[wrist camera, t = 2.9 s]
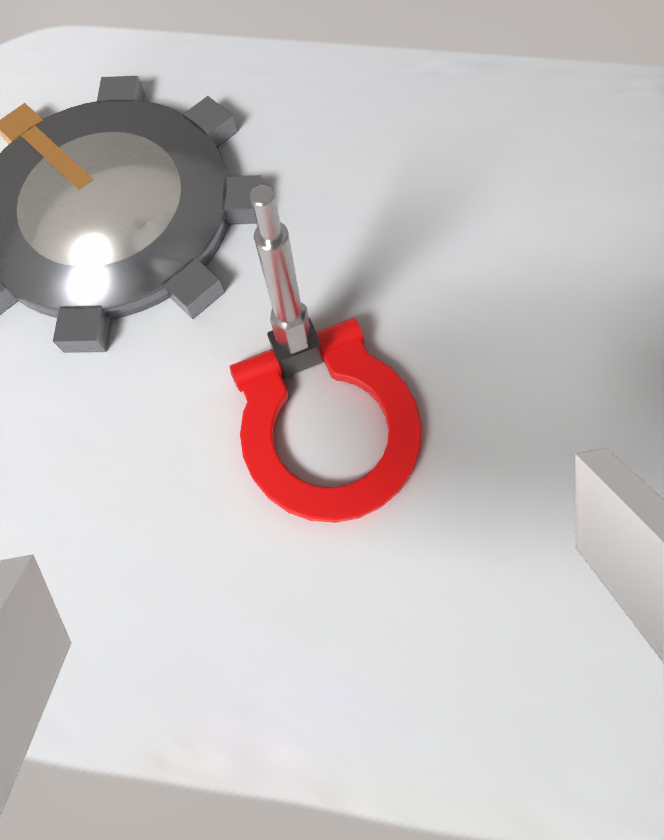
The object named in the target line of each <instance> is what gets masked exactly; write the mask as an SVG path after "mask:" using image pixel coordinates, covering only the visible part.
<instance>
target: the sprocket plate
mask: <svg viewBox="0 0 664 840" xmlns="http://www.w3.org/2000/svg"><path fill="white" fill-rule="evenodd" d="M143 99H144V90H143V88H142V85H141V83H140V80H139V78H138V76H119V77H101V82H100V87H99V93H98V98H97V101H96V102H91V103H86V104H82V105H78V106H75V107H71V108H68V109H66V110H63V111H61V112H58V113H56V114H53V115H51V116H49V117H47V118H45V119H42V118H41V117H40V116H39V115H37V114H36V113H35V112H34V111H33V110H32V109H31V108H30V107H29V106H27V105H26V104H25V103H24V104H22V105H21V106H20V107H18V108H17V109H15V110H14V111H12V112H11V113H9V114H8V115H7V116H5V117H4V118H2V119H1V120H0V134H1V135H2V137H3V138H4V140H5V141H6V142H7V143H8V144H9V145H8V146H7V147H6V148H5V149H4V150H3V151H2V152H1V153H0V314H1V313H3V312H4V311H5V310H6V309H8V308H9V307H10V306H12V305H13V304H14V303H16V302H17V301H20V302H21V303H23V304H24V305H26V306H27V307H29V308H31V309H33V310H36V311H38V312H40V313H42V314H46V315H49V316H52V317H56V318H57V322H56V327H55V333H54V338H53V342H54V343H55V344H56V345H57V346H58V347H59V348H60V349H61V350H62V351H63V352H106V347H107V341H108V334H109V327H110V321H111V319H114V318H119V317H124V316H127V315H131V314H134V313H137V312H140V311H143V310H145V309H148V308H150V307H152V306H154V305H157V304H159V303H160V302H162V301H164V300H166V299H167V298H169V297H170V298H171V299H172V300H173V301H174V302H175V303H176V304H177V305H178V306H180V307H181V308H182V309H183V310H184V311H185V312H186V313H187V314H188V315H189V316H190V317H191V318H192V319H193V318H195V317H196V316H197V315H198V314H199V313H201V312H202V311H203V310H204V309H205V308H207V307H208V306H209V305H210V304H211V303H212V302H214V301H215V300H216V299H217V298H218V297H220V296H221V295H222V294H223V293H224V290H223V287H222V285H221V282H220V280H219V279H218V278H217V277H216V276H215V275H214V274H213V273H212V272H211V271H209V270H208V269H207V268H206V267H205V266H206V265H207V264H208V263H209V262H210V260H211V259H212V257H213V256H214V254H215V253H216V251H217V250H218V248H219V246H220V244H221V242H222V239H223V237H224V235H225V232H226V229H227V226H228V224H252V223H256V219H255V215H254V211H253V207H252V203H251V199H250V193H251V191H252V190H253V189H254V188H255V187H257V186H260V185H263V183H262V179H261V175H260V176H229V177H227V173H226V170H225V167H224V164H223V161H222V158H221V155H220V153H219V151H218V149H217V147H218V146H219V145H221V144H222V143H223V142H225V141H226V140H227V139H228V138H230V137H231V136H232V135H234V134H235V133H236V132H237V130H236V126H235V122H234V118H233V115H232V114H230V113H229V112H228V111H227V110H225V109H224V108H223V107H221V106H220V105H219V104H218V103H216V102H215V101H214V100H213V99H211V98H210V97H209V96H207V97H206V98H204V99H203V100H202V101H200V102H199V103H198V104H196V105H195V106H194V107H192V108H191V109H190V110H188V111H187V112H186V113H184V114H181V113H179V112H177V111H175V110H173V109H171V108H168V107H165V106H162V105H159V104H155V103H151V102H146V101H143Z"/></svg>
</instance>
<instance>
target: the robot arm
mask: <svg viewBox="0 0 664 840" xmlns="http://www.w3.org/2000/svg"><path fill="white" fill-rule="evenodd" d="M575 465H576V549H577V550H578V552H579V553H580V554H581V555H582V557H583V558H584V559H585V561H586V562H587V563H588V565H589V566H590V567H591V569H592V570H593V571H594V573H595V574H596V575H597V576H598V578H599V579H600V580H601V582H602V583H603V584H604V586H605V587H606V588H607V590H608V591H609V592H610V594H611V595H612V596H613V598H614V599H615V600H616V601H617V603H618V604H619V605H620V607H621V608H622V609H623V611H624V612H625V613H626V615H627V616H628V617H629V619H630V620H631V621H632V622H633V624H634V625H635V626H636V628H637V629H638V630H639V632H640V633H641V634H642V636H643V637H644V638H645V640H646V641H647V642H648V643H649V645H650V646H651V647H652V649H653V650H654V651H655V653H656V654H657V655H658V657H659V658H660V659H661V661H662V662H663V663H664V499H663V498H662V497H661V496H660V495H659V494H658V493H656V492H655V491H654V490H653V489H652V488H651V487H650V486H649V485H648V484H646V483H645V482H644V481H643V480H642V479H641V478H640V477H639V476H637V475H636V474H635V473H634V472H633V471H632V470H631V469H630V468H628V467H627V466H626V465H625V464H624V463H623V462H622V461H621V460H620V459H618V458H617V457H616V456H615V455H614V454H613V453H612V452H611V451H609V450H608V449H607V448H604V449H599V450H593V451H588V452H582V453H577V454H575ZM70 645H71V641H70V638H69V636H68V634H67V631H66V629H65V627H64V625H63V622H62V620H61V618H60V615H59V613H58V611H57V608H56V606H55V604H54V601H53V599H52V597H51V594H50V592H49V590H48V587H47V585H46V583H45V581H44V578H43V576H42V574H41V571H40V569H39V567H38V564H37V562H36V560H35V557H34V555H28V556H22V557H17V558H11V559H6V560H1V561H0V816H1V814H2V812H3V809H4V807H5V804H6V802H7V799H8V797H9V794H10V792H11V789H12V787H13V785H14V782H15V779H16V777H17V775H18V772H19V770H20V767H21V765H22V763H23V760H24V758H25V755H26V753H27V750H28V748H29V745H30V743H31V740H32V738H33V736H34V733H35V731H36V728H37V726H38V723H39V721H40V718H41V716H42V713H43V711H44V709H45V706H46V704H47V701H48V699H49V696H50V694H51V691H52V689H53V687H54V684H55V682H56V679H57V677H58V674H59V672H60V669H61V667H62V664H63V662H64V660H65V657H66V655H67V652H68V650H69V647H70Z"/></svg>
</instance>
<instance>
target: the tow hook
mask: <svg viewBox="0 0 664 840" xmlns="http://www.w3.org/2000/svg"><path fill="white" fill-rule="evenodd" d="M250 199H251V203H252V207H253V211H254V215H255V219H256V223H257V228H256V230H255V232H254V240H255V244H256V247H257V251H258V255H259V259H260V262H261V266H262V270H263V273H264V277H265V281H266V285H267V288H268V292H269V296H270V300H271V303H272V312H271V319H270V321H271V325H272V328H273V330H272V331H270V332H268V334H267V335H268V338H269V341H270V344H271V348H272V349H271V350H269V351H266V352H264V353H261V354H258V355H256V356H253V357H251V358H248V359H246V360H243V361H240V362H238V363H235V364H233V365H230V372H231V375H232V378H233V380H234V383H235V385H236V387H237V388H238V390H239V391H240V392H242V391H244V394H245V396H246V399H247V404H246V407H245V409H244V411H243V417H242V424H241V431H240V438H241V445H242V453H243V458H244V460H245V463H246V465H247V467H248V469H249V472H250V474H251V476H252V478H253V480H254V481H255V482H256V484H257V485H258V486H259V487H260V489H261V490H262V491H263V492H264V493H265V495H266V496H267V497H268V498H269V499H270V500H271V501H273V502H274V503H275V504H277V505H278V506H280V507H281V508H283V509H284V510H285V511H287V512H288V513H291V514H294V515H297V516H299V517H302V518H305V519H308V520H310V521H322V522H334V523H335V522H340V521H346V520H351V519H357V518H360V517H362V516H364V515H366V514H369V513H371V512H373V511H375V510H377V509H379V508H381V507H382V506H383V505H385V504H386V503H387V502H388V501H389V500H390V499H392V498H393V497H394V496H395V495H396V494H397V493H399V491H400V490H401V488H402V487H403V485H404V484H405V482H406V481H407V479H408V478H409V476H410V475H411V473H412V471H413V468H414V465H415V462H416V459H417V456H418V453H419V450H420V442H421V422H420V417H419V413H418V409H417V404H416V402H415V400H414V398H413V396H412V394H411V392H410V391H409V389H408V387H407V385H406V383H405V382H404V381H403V380H402V379H401V378H400V377H399V376H398V375H397V374H396V373H395V372H394V371H393V370H392V369H391V367H389V366H388V365H386V364H384V363H383V362H381V361H380V360H378V359H376V358H375V357H373V356H372V355H369V354H368V353H367V351H366V349H365V347H364V337H363V333H362V330H361V328H360V325H359V323H358V322H357V320H356V319H355V318H351V319H349V320H346V321H343V322H341V323H338V324H336V325H333V326H330V327H328V328H325V329H323V330H320V331H318V332H316V331H315V329H314V327H313V325H312V322H311V320H310V318H308V312H307V307H306V306H305V305H304V304H303V303H302V302H300V296H299V290H298V284H297V279H296V273H295V267H294V262H293V256H292V250H291V245H290V239H289V233H288V230H287V228H286V226H285V225H284V224H282V223H281V222H280V219H279V213H278V208H277V203H276V198H275V193H274V190H273V189H272V188H271V187H269V186H267V185H260V186H257V187H255V188H254V189H253V190H252V191H251V193H250ZM323 359H324V361H325V364H326V366H327V368H328V370H329V373H330V375H331V377H332V378H333V379H335V380H337V381H345V382H348V383H351V384H354V385H357V386H359V387H360V388H362V389H363V390H365V391H366V392H368V393H369V394H370V395H371V396H372V397H373V398H374V399H375V400H376V401H377V402H378V403H379V405H380V407H381V409H382V411H383V413H384V415H385V416H386V421H387V426H388V443H387V446H386V449H385V452H384V455H383V457H382V458H381V460H380V461H379V462H378V464H377V465H376V467H375V468H374V469H373V470H372V471H371V472H369V473H368V474H367V475H366V476H365V477H363V478H362V479H360V480H358V481H355V482H353V483H351V484H349V485H344V486H339V487H333V488H332V487H320V486H315V485H312V484H309V483H306V482H304V481H302V480H300V479H299V478H297V477H296V476H294V475H293V474H292V473H290V472H289V471H288V470H287V468H286V467H285V466H284V465H283V464H282V462H281V461H280V459H279V457H278V455H277V452H276V449H275V443H274V429H275V422H276V419H277V417H278V414H279V412H280V409H281V408H282V407H283V405H284V404H285V403H286V401H287V400H288V392H287V389H286V387H285V384H284V382H283V380H282V377H281V376H283V377H287V376H289V375H292V374H295V373H297V372H300V371H302V370H305V369H307V368H310V367H312V366H315V365H317V364H320V363H322V362H323Z"/></svg>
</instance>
